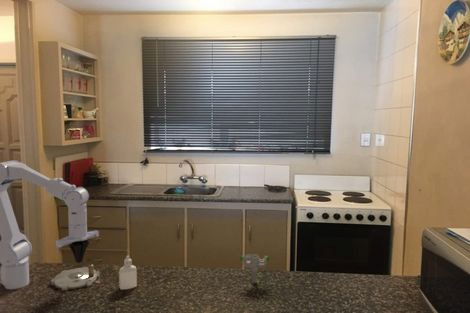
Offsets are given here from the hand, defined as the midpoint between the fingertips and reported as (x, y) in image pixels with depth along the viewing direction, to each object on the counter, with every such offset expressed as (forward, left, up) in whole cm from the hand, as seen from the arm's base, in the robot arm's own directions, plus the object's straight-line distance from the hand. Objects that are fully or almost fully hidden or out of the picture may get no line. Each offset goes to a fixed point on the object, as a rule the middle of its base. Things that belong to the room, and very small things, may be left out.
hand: (79, 261), depth 119 cm
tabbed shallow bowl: (-4, +1, -8) cm, 9 cm away
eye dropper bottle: (+15, +9, -10) cm, 20 cm away
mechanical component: (+47, +40, -10) cm, 62 cm away
